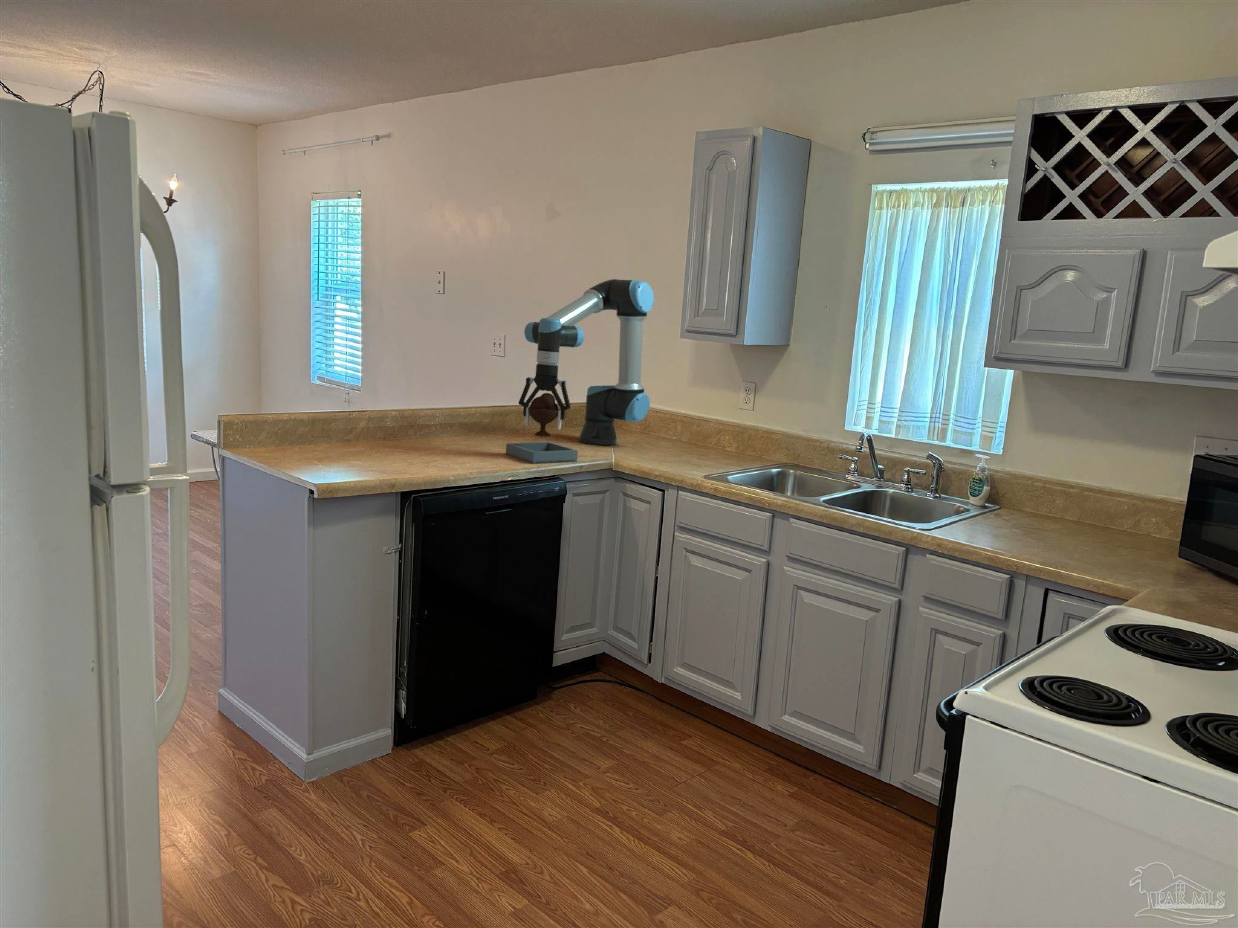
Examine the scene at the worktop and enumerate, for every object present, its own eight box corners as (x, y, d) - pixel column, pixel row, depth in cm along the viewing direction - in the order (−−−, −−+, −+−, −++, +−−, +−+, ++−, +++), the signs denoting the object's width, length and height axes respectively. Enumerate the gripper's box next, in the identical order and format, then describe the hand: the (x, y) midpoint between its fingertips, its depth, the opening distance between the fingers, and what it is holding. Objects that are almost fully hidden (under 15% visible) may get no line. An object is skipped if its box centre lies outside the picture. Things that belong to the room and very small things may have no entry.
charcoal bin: (548, 452, 320) (549, 441, 320) (576, 461, 306) (577, 450, 306) (505, 454, 309) (506, 443, 308) (533, 464, 295) (533, 452, 295)
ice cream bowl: (560, 434, 311) (562, 392, 309) (554, 439, 300) (557, 395, 298) (530, 432, 312) (533, 390, 310) (524, 436, 301) (526, 392, 299)
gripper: (512, 361, 300) (508, 425, 303) (578, 367, 297) (573, 431, 301) (517, 360, 307) (513, 422, 311) (582, 366, 305) (577, 429, 308)
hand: (543, 427), depth 306 cm, fingers closed on ice cream bowl, 11 cm apart
